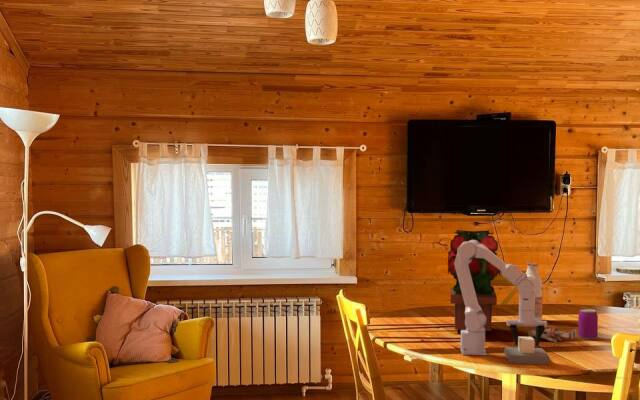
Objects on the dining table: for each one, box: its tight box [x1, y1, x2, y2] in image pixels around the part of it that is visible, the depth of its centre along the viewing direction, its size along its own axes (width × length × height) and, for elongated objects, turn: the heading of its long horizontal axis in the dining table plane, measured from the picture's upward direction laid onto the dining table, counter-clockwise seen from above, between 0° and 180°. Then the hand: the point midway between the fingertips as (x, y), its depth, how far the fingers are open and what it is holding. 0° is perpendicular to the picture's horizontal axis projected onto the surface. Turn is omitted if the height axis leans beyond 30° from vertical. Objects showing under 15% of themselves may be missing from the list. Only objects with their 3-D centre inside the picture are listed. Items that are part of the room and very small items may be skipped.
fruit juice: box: [525, 262, 543, 321], centre depth 311 cm, size 9×9×28 cm
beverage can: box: [577, 308, 599, 341], centre depth 276 cm, size 8×8×12 cm
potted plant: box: [447, 229, 501, 335], centre depth 289 cm, size 22×22×45 cm
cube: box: [517, 335, 536, 353], centre depth 242 cm, size 5×5×5 cm
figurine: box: [527, 327, 578, 343], centre depth 271 cm, size 6×6×20 cm
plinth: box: [504, 346, 550, 366], centre depth 242 cm, size 14×12×3 cm
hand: (526, 345), depth 242 cm, fingers open, 7 cm apart
